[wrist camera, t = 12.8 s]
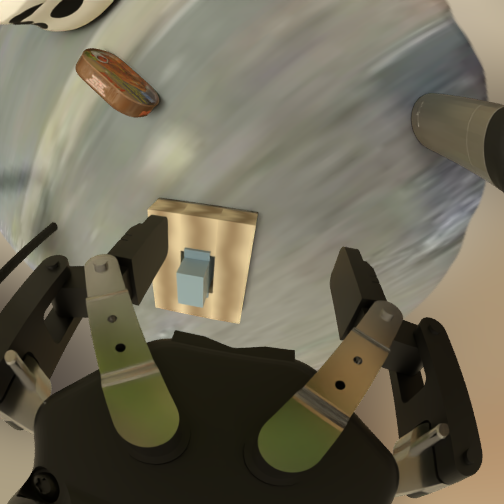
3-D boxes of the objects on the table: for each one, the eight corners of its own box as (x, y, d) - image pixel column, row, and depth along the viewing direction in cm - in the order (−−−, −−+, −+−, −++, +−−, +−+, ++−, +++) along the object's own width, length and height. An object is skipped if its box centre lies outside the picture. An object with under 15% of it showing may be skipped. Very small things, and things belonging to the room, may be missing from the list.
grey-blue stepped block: (215, 239, 44) (203, 268, 37) (212, 283, 49) (202, 314, 42) (191, 236, 44) (175, 264, 37) (191, 279, 49) (178, 309, 42)
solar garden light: (71, 259, 51) (-7, 360, 26) (35, 233, 48) (-47, 318, 23) (79, 217, 45) (-25, 323, 20) (39, 190, 42) (-65, 274, 17)
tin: (168, 102, 34) (142, 105, 27) (154, 117, 35) (126, 125, 28) (108, 48, 28) (75, 44, 21) (96, 63, 30) (63, 63, 23)
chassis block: (257, 212, 42) (255, 225, 38) (242, 306, 53) (239, 323, 49) (159, 197, 42) (147, 209, 38) (163, 291, 53) (155, 307, 49)
